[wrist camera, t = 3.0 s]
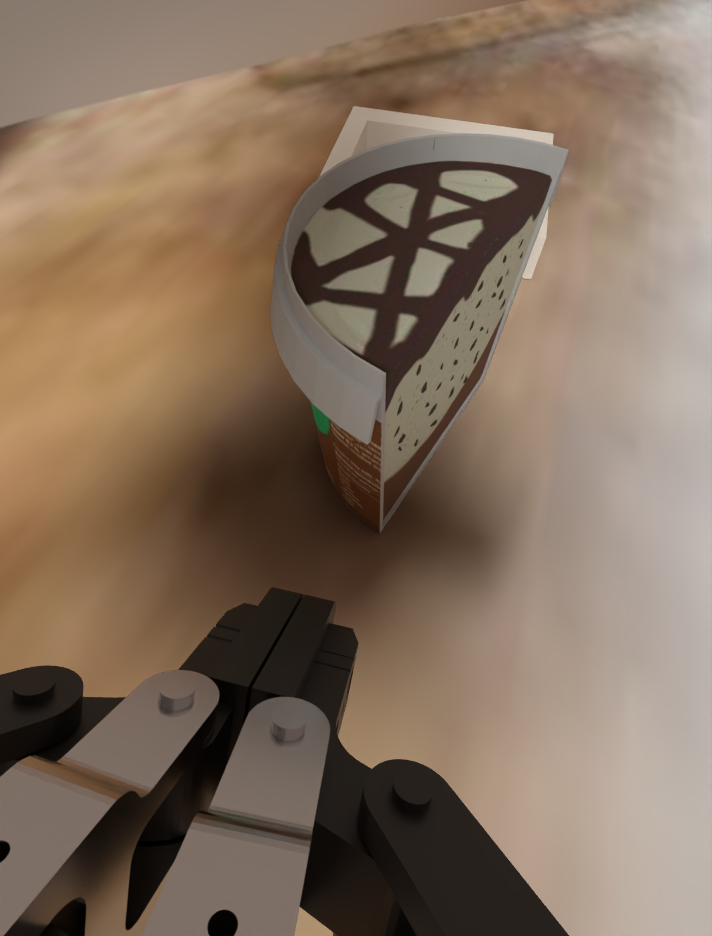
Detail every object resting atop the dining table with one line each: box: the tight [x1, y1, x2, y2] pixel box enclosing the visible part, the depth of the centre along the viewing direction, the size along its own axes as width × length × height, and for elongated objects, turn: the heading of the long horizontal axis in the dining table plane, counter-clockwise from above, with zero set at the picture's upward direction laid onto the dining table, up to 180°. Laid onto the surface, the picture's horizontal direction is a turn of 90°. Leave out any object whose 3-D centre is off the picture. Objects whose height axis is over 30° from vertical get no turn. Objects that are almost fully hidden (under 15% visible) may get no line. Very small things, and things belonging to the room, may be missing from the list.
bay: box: [319, 106, 553, 279], centre depth 31 cm, size 12×10×2 cm
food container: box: [270, 133, 569, 533], centre depth 19 cm, size 12×6×10 cm, turn 147°
